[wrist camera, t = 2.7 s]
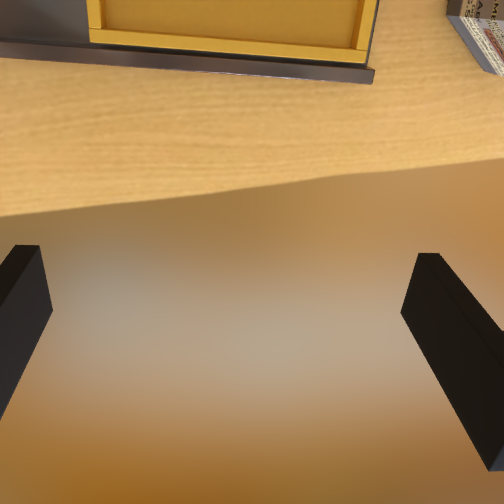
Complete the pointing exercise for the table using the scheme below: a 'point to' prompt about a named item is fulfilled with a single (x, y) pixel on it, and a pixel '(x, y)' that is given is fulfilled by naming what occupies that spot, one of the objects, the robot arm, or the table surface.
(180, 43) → the tray
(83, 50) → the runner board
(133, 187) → the table surface
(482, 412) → the robot arm
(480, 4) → the liquor
